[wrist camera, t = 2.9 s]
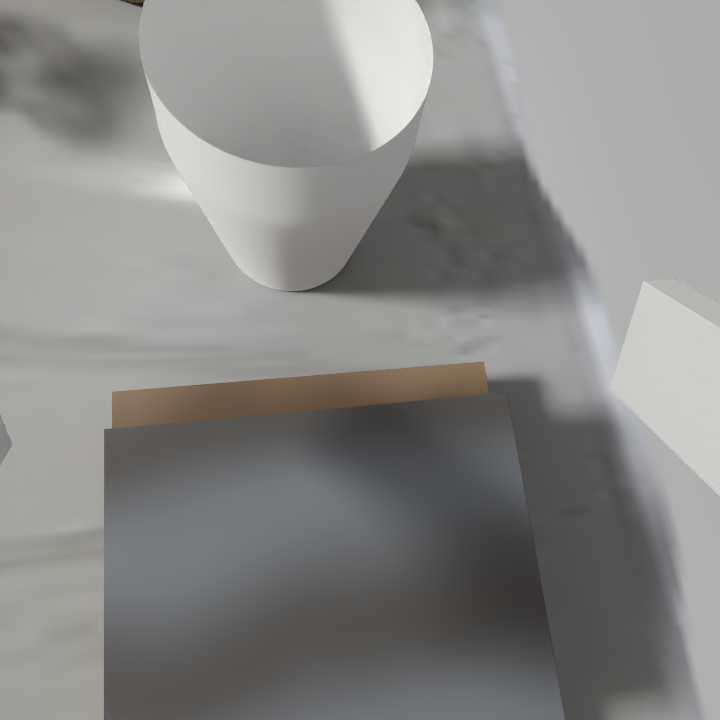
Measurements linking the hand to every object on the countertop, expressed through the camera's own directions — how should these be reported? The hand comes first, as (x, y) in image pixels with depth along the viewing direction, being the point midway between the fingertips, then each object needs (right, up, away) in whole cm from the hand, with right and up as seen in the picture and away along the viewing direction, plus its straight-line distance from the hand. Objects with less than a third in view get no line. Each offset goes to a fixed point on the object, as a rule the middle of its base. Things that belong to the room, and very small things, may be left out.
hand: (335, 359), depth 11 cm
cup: (-3, +7, +17) cm, 18 cm away
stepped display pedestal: (-1, -10, +13) cm, 16 cm away
